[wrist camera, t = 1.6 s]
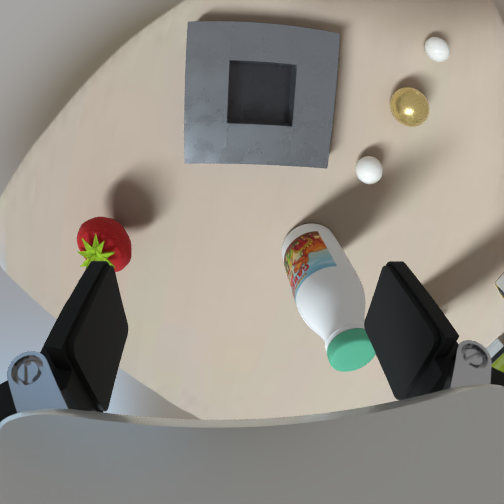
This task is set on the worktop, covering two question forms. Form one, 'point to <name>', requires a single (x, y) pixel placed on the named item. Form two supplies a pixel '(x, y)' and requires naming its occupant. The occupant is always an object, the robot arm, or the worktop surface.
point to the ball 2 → (437, 49)
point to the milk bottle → (328, 294)
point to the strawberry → (104, 242)
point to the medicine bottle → (500, 284)
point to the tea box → (497, 354)
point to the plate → (259, 93)
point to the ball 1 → (369, 170)
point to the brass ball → (409, 106)
